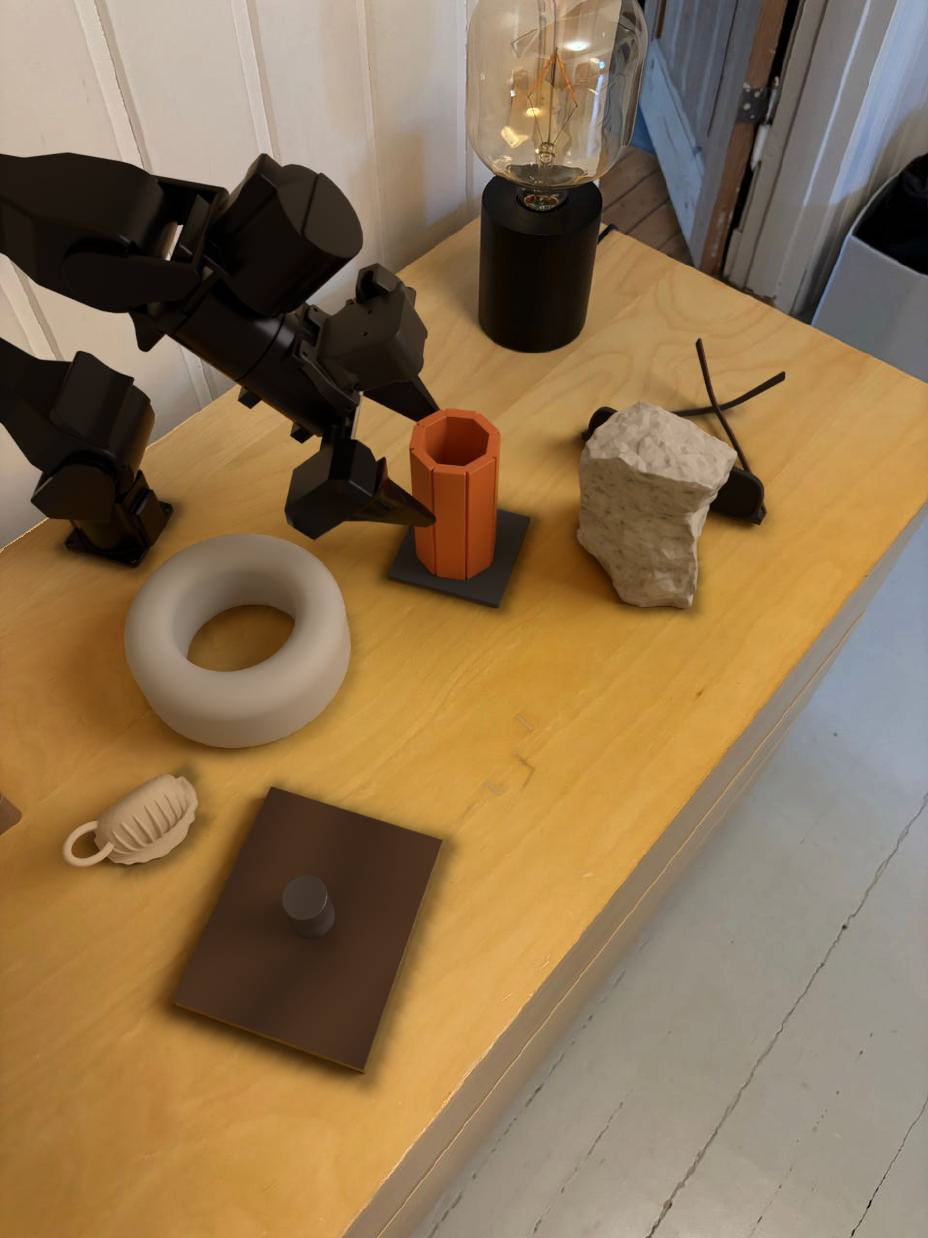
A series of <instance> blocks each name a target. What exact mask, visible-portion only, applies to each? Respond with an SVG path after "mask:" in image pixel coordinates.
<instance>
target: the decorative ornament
mask: <svg viewBox="0 0 928 1238" xmlns="http://www.w3.org/2000/svg"><path fill="white" fill-rule="evenodd" d="M197 796H198V795H197V792H196V789H195V787H194V786H193V784H192V783H191V782H190V781H189V780H188V779H187V778H185V776H183V775H181V776H179V777H176V778H175V777H174V776H173V775H172V774H170V773H165V774H160V775H158V776H155V777H152V778H151V779H149V780H148V781H146V782H144V783H143V784H140V785H139V786H138V787H137V788H135V789H133V790H132V791H129V792H128V793H127V794H125V796H123V797H122V798H120V799H119V800H118V801H116V802H115V803H114V804H112V805H111V806H110V807H109V808H108V809H107V810H106V811H105V812H103V813H102V814H100V816H99V817H98V818H97V819H96V820H93V821H88V822H85V823H83V824H82V825H80V826H78V827H76V828H75V829H74V830H72V831H71V833H69V834H68V836H67V837H66V838H65V840H64V842H63V844H62V848H61V854H62V857H63V859H64V861H65V862H66V863H67V864H69V865H70V866H72V867H75V868H86V867H91V866H93V865H96V864H98V863H99V862H101V861H103V860H104V859H105V858H108V859H110V861H111V862H113V863H115V864H123V865H127V866H129V865H133V864H135V863H143V864H144V863H147V862H149V861H151V860H154V859H158V858H162V857H164V856H166V855H168V854H169V853H170V852H171V851H172V850H173V849H174V848H175V847H177V846H178V845H180V844H181V843H182V842H183V841H184V840H185V838H186V837H187V835H188V831H189V827H190V825H191V824H192V823H193V822H194V821H195V819H196V816H195V812H196V810H197V808H198V806H199V800H198V797H197ZM89 832H94V834H95V837H94V839H93V842H94V843H95V845H96V846H97V848H98V850H99V851H98V852H97V853H95V854H93V855H91V856H88V857H84V858H83V857H81V858H80V857H76V856H75V855H73V852H72V848H73V844H75V842H76V841H77V839H79V837H81V836H83V835H84V834H87V833H89Z"/></svg>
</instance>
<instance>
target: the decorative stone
mask: <svg viewBox="0 0 928 1238" xmlns="http://www.w3.org/2000/svg"><path fill="white" fill-rule="evenodd" d="M617 411H618V412H616V413H614V414H613V415H612V416H611V417H610V418H609V419H608V420H607V421H606V422H605V423H604V424H602V425H601V426H600V427H598V428H596V429H595V431H594V433H593V435H592V436H591V438H590V439H589V440H588V441H587V442H585V445H584V448H583V449H582V451H581V452H580V453H581V454H580V459H579V465H578V469H577V472H578V473H577V474H578V483H579V484H578V485H579V492H580V493H579V499H580V504H579V505H580V506H579V515H578V522H579V528H578V529H577V530H576V532H575V533H576V538H577V540H578V542H579V544H580V545H581V546H582V547H583V548H584V549H585V550H586V551H587V553H589V554H590V555H592V556H593V557H594V558H595V560H597V561H598V562H599V564H600V565H601V567H602V568H603V569H604V571H605V572H606V574H607V575H608V576H609V577H610V578H611V584H612V586H613V588H614V589H615V591H616V592H617V594H618V596H619V598H620V599H621V601H623V602H625V604H629V605H633V606H636V607H638V608H653V607H660V606H663V607H665V606H666V607H668V606H671V607H675V608H679V609H683V610H686V609H688V608H689V609H690V607H692V605H693V601H694V594H695V593H696V591H697V590H698V589H697V588H698V587H697V582H698V571H699V563H698V545H697V544H698V539H699V538H700V536H701V535H702V530H703V528H704V525H705V524H706V520H707V514H708V513H709V511H710V510H709V504H710V503H711V502H712V501H713V500H714V499H715V498H716V496H717V492H718V490H719V489H720V488H721V487H722V486H723V485H724V484H725V483H726V481H727V479H728V477H729V472H730V471H731V469H732V466H734V463H735V462H736V460H737V458H738V455H737V452H736V451H735V449H734V448H732V447H731V446H730V445H729V444H728V443H727V442H726V441H723V440H720V439H718V438H717V437H715V436H714V435H711V434H709V433H707V432H706V431H704V430H702V429H701V428H699V427H698V426H697V425H696V424H695V423H694V422H693V421H691V420H689V419H686V418H684V417H679V416H677V415H675V414H673V413H671V411H669V410H666V409H664V408H663V407H662V406H661V405H656V404H654V403H650V402H647V401H642V400H639V401H638V402H636V403H635V404H633V405H631V406H628V407H627V408H624V409H622V410H617Z"/></svg>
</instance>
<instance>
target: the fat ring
mask: <svg viewBox="0 0 928 1238" xmlns="http://www.w3.org/2000/svg"><path fill="white" fill-rule="evenodd" d="M247 605H248V606H249V605H260V606H267V607H272V608H275V609H278V610H280V611H282V612H284V613H286V614H287V615H289V616H290V617H291V618H292V619H293V620H294V626H293V629H292V632H291V633H290V635H289V637H288V639H287V640H286V642H285V643H284V644H283V645H282V647H280V648H279V649H278V651H276V652H275V653H274V654H272V656H270V657H268V658H267V659H265V660H263V661H261V662H259V663H257V664H255V665H253V666H250V667H247V668H243V669H238V670H231V671H220V670H219V671H218V670H211V669H207V668H203V667H201V666H198V665H196V664H194V663H193V662H191V661H189V659H188V655H189V650H190V646H191V643H192V641H193V639H194V638H195V636H196V635H197V633H198V632H199V630H200V629H201V628H202V627H203V626H204V625H205V624H207V622H209V621H210V620H212V618H213V619H214V617H216V616H217V615H219V614H222V613H223V612H226V611H228V610H230V609H233V608H237V607H242V606H247ZM123 633H124V634H123V645H124V646H123V647H124V653H125V658H126V661H127V662H126V663H127V665H128V668H129V670H130V672H131V675H132V677H133V678H134V680H135V682H136V683H137V685H138V687H139V688H140V691H141V692H142V694H143V695H144V697H145V699H146V700H147V702H148V703H149V705H150V707H151V709H152V710H153V711H154V713H155V714H156V715H157V716H158V717H159V719H161V721H162V722H163V723H165V724H166V725H167V726H168V727H169V728H170V729H171V730H173V731H174V732H176V733H177V734H179V735H180V736H184V737H185V738H187V739H189V740H192V741H194V742H196V743H199V744H202V745H206V746H211V747H215V748H223V749H224V748H226V749H243V748H251V747H252V748H253V747H258V746H262V745H266V744H271V743H273V742H277V741H279V740H282V739H284V738H286V737H289V736H290V735H292V734H295V733H296V732H297V731H299V730H301V729H302V728H304V727H305V726H307V725H309V724H310V723H311V722H312V721H314V720H315V719H316V718H317V717H318V716H319V715H321V714H322V712H323V711H325V709H326V708H327V707H328V706H329V704H330V703H331V702H332V701H333V699H334V698H335V697H336V695H337V693H338V692H339V690H340V689H341V686H342V684H343V682H344V680H345V677H346V674H347V671H348V670H349V669H348V668H349V664H350V659H351V650H352V649H351V648H352V647H351V645H352V643H351V633H350V627H349V622H348V617H347V611H346V606H345V601H344V598H343V594H342V591H341V589H340V587H339V585H338V583H337V581H336V579H335V577H334V576H333V574H332V573H331V571H330V570H329V569H328V568H327V567H326V565H325V564H324V563H323V562H322V561H321V560H320V559H319V558H317V557H316V556H315V555H314V554H313V553H311V552H310V551H308V550H307V549H305V548H304V547H302V546H300V545H298V544H296V543H294V542H292V541H289V540H287V539H284V538H281V537H277V536H274V535H269V534H261V533H252V532H251V533H250V532H249V533H248V532H247V533H246V532H243V533H230V534H222V535H218V536H215V537H214V536H213V537H210V538H207V539H204V540H201V541H198V542H196V543H193V544H192V545H189V546H187V547H185V548H183V549H181V550H179V551H177V552H175V554H173V555H171V556H170V557H169V558H167V559H166V560H164V561H163V562H162V563H161V564H160V565H158V566H157V567H156V568H155V569H154V570H153V571H152V572H151V573H150V575H149V576H148V577H147V578H146V579H145V580H144V582H143V583H142V584H141V586H140V587H139V589H138V590H137V592H136V594H135V596H134V598H133V600H132V602H131V603H130V606H129V609H128V612H127V614H126V619H125V624H124V631H123Z"/></svg>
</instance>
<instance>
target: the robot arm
mask: <svg viewBox="0 0 928 1238" xmlns="http://www.w3.org/2000/svg"><path fill="white" fill-rule="evenodd" d="M179 226H181V229H180V232H179V235H178V237H177V240H176V243H175V245H174V248H173V250H172V253H171V255H170V258H169V259H168V256H169V253H170V251H171V249H172V245H173V243H174V241H175V237H176V234H177V230H178V227H179ZM363 246H364V232H363V228H362V224H361V221H360V218H359V216H358V214H357V212H356V210H355V208H354V207H353V205H352V203H351V202H350V200H349V198H348V197H347V196H346V194H345V193H344V192H343V190H342V189H340V187H339V186H338V185H337V184H336V183H335V182H334V181H333V179H331V178H330V177H328V176H327V175H326V174H325V173H324V172H319V173H318V172H316V171H314V170H313V169H311V168H309V167H307V166H304V165H302V164H297V163H296V164H295V163H289V164H285V165H283V166H282V165H280V164H279V162H277V161H276V160H275V159H274V158H273V157H272V156H270V155H269V154H268V153H265V152H262V153H261V152H260V154H259V155H258V156H257V158H256V159H254V161H252V163H251V164H250V166H249V167H248V168H247V171H246V173H245V175H244V177H243V179H242V180H241V181H240V182H239V183H238V185H237V186H236V187H235V188H234V189H233V190H232V191H231V192H230V191H229V190H228V189H227V188H226V187H223V186H220V185H219V186H218V185H213V184H208V183H201V182H196V181H191V180H190V181H189V180H186V179H181V178H175V177H168V176H163V175H157V174H152V173H150V172H148V171H147V170H145V169H143V168H141V167H139V166H137V165H134V164H133V163H130V162H126V161H122V160H116V159H111V158H105V157H99V156H93V155H88V154H87V155H86V154H82V153H76V152H69V151H67V152H65V151H63V152H57V153H49V154H41V155H33V156H18V155H12V154H7V153H1V152H0V255H3V256H5V257H7V258H8V259H9V260H10V261H11V262H12V263H13V264H14V265H16V267H17V268H18V269H20V270H21V271H22V272H23V273H24V274H25V275H26V276H27V277H28V278H29V279H31V281H32V282H34V283H35V284H36V285H38V286H39V287H41V288H44V289H46V290H49V291H51V292H54V293H56V294H58V295H61V296H63V297H65V298H68V299H70V300H72V301H75V302H77V303H80V304H82V305H84V306H87V307H89V308H91V309H95V310H97V311H100V312H104V313H111V314H117V315H118V314H128V315H129V317H130V319H131V321H132V323H133V327H134V333H135V340H136V345H137V348H138V349H139V351H141V352H143V353H148V352H150V351H151V350H152V349H153V348H154V347H155V346H156V345H157V344H158V343H159V342H160V341H161V340H162V339H163V338H164V337H165V336H167V337H168V338H169V339H171V340H172V341H174V342H175V343H177V344H178V345H180V346H182V347H183V348H184V349H185V350H187V351H189V353H191V354H193V355H194V356H196V357H197V358H198V359H200V360H202V361H203V362H204V363H206V364H208V365H209V366H210V367H212V368H213V369H215V370H217V372H219V373H221V374H222V375H224V376H225V377H226V378H228V379H230V380H231V381H233V382H234V383H236V384H237V385H238V386H240V390H239V393H238V398H237V402H239V403H240V404H241V405H243V406H244V407H246V408H248V409H249V410H252V409H253V408H254V407H255V406H257V405H258V404H260V403H261V401H262V402H263V403H264V404H266V405H267V406H269V407H270V408H272V409H273V410H275V411H276V412H278V413H279V414H281V415H282V416H283V417H285V418H286V419H288V420H289V421H291V422H292V425H291V429H290V434H289V437H290V438H292V439H294V441H296V442H297V443H299V444H301V445H303V444H304V443H306V442H307V441H308V440H310V439H311V438H312V437H314V436H316V438H321V440H320V445H319V448H318V449H319V450H318V451H317V452H315V453H314V454H312V455H311V456H310V457H308V458H307V459H305V460H304V461H303V462H302V463H300V464H299V465H298V466H296V467H295V468H294V469H292V473H291V478H290V482H289V487H288V491H287V496H286V500H285V505H284V509H283V512H284V516H285V519H286V520H285V521H286V524H288V525H289V526H290V527H291V528H293V529H294V530H296V531H297V532H299V533H300V534H301V535H304V536H306V537H307V538H309V539H311V540H312V541H316V540H319V538H321V537H323V536H324V535H325V534H327V533H329V532H330V531H332V530H333V529H335V528H336V527H338V526H340V525H341V524H343V523H345V522H346V523H348V522H349V523H350V522H351V523H352V522H353V523H355V522H361V523H362V522H363V523H365V522H366V523H377V524H379V523H380V524H388V525H397V526H407V527H409V526H415V527H424V528H427V527H429V526H431V525H433V524H434V523H436V516H435V515H434V514H433V513H432V512H431V511H430V510H429V509H428V508H427V507H425V506H424V505H423V504H422V503H421V502H419V501H418V500H417V499H415V498H414V497H413V496H412V494H410V493H409V492H408V491H406V490H405V489H404V488H403V487H401V486H400V485H399V484H397V483H396V482H395V481H393V480H392V479H391V478H390V477H389V471H388V463H387V458H386V456H382V457H381V458H379V459H378V460H377V459H376V458H375V456H374V453H373V452H372V449H371V448H370V447H369V446H367V445H365V443H364V442H361V441H360V440H359V439H356V434H357V428H358V424H359V418H360V412H361V407H362V402H363V397H365V398H367V399H369V400H371V401H373V402H375V403H377V404H379V405H381V406H382V407H385V408H386V409H389V410H391V411H393V412H394V413H397V414H399V415H401V416H403V417H405V418H407V419H409V420H411V421H413V422H415V423H417V422H418V421H420V420H422V419H424V418H426V417H427V416H429V415H431V414H433V413H435V412H437V411H439V410H440V409H441V408H440V407H439V405H438V403H437V402H436V401H435V398H434V397H433V396H432V395H431V392H430V391H429V390H428V388H427V387H426V385H425V383H424V382H423V380H422V378H421V377H420V375H419V374H420V373H421V372H422V370H423V368H424V364H425V359H424V358H425V357H424V352H425V346H426V345H425V344H426V340H427V339H428V336H429V332H428V329H427V327H426V326H425V324H424V322H423V320H422V318H421V317H420V315H419V314H418V312H417V310H416V308H415V306H416V299H417V291H416V289H415V288H414V287H412V286H406V284H405V282H404V281H403V280H402V279H401V277H399V276H398V275H396V274H394V273H393V272H392V271H390V270H389V269H387V268H386V267H384V266H383V265H382V264H380V263H378V262H375V263H373V264H370V265H366V266H365V267H361V268H360V269H358V272H357V279H356V281H355V288H354V293H355V297H353V298H348V299H346V300H345V303H344V306H342V307H341V309H339V310H338V311H337V312H336V313H334V314H330V313H328V312H327V311H326V312H325V311H324V310H323V309H322V308H320V307H319V306H317V305H316V304H313V303H312V304H309V303H307V301H308V300H309V299H310V298H312V297H313V295H315V294H316V293H317V292H318V291H319V290H320V289H321V288H322V287H323V286H325V285H326V284H327V283H328V282H329V281H330V280H331V279H332V278H334V277H335V276H336V275H337V274H338V273H339V272H340V271H342V269H344V268H345V267H346V266H347V265H348V264H349V263H351V261H353V259H354V258H355V257H357V256H358V255H359V254H360V252H361V251H362V249H363ZM135 380H136V379H135V377H134V376H132V375H128V374H125V373H121V372H119V371H118V370H115V369H113V368H111V367H110V366H109V365H107V364H105V363H104V362H103V361H102V360H100V359H99V358H98V357H97V356H95V355H94V354H93V353H90V352H88V351H84V350H77V351H76V352H75V353H74V356H73V359H72V361H71V360H60V359H46V358H45V359H43V358H39V357H37V356H34V355H32V354H30V352H29V353H28V352H27V351H25V350H23V348H20V347H19V346H17V345H15V344H13V343H12V342H10V341H8V340H7V339H5V338H3V337H1V336H0V424H1V425H2V426H3V428H4V429H5V431H6V432H7V433H8V434H9V436H10V437H11V439H12V440H13V442H14V443H15V445H17V446H16V447H18V448H19V450H20V451H21V453H22V455H24V458H26V460H27V461H28V462H29V464H30V465H32V466H33V467H34V468H35V469H37V470H39V471H40V472H41V474H40V476H39V478H38V481H37V484H36V486H35V488H34V490H33V492H32V495H31V497H30V500H29V501H30V503H31V504H32V505H33V506H34V507H35V508H36V509H37V510H38V511H40V512H41V513H42V514H43V515H44V516H45V517H46V518H47V519H49V520H60V521H61V520H62V521H69V523H70V525H71V526H72V528H73V529H72V530H71V531H70V533H69V534H68V536H67V537H66V539H65V540H64V542H63V546H64V547H65V549H66V550H67V551H70V552H73V553H77V554H80V555H84V556H87V557H91V558H94V559H98V560H102V561H105V562H108V563H112V564H116V565H120V566H123V567H126V568H131V569H135V568H136V569H137V568H138V567H140V565H141V564H142V563H143V561H144V559H145V558H146V556H147V555H148V553H149V552H150V550H151V549H152V548H153V546H155V544H156V542H157V541H158V540H159V538H160V537H161V535H162V533H163V532H164V530H165V529H166V526H167V525H168V522H169V520H170V518H171V516H172V515H173V513H174V512H175V508H174V507H173V506H174V505H172V503H170V502H166V501H163V500H158V497H157V495H156V492H155V490H154V489H153V488H150V486H149V484H148V480H147V479H146V476H145V473H144V471H143V470H141V469H140V466H141V464H142V460H143V458H144V455H145V452H146V448H147V446H148V443H149V441H150V437H151V434H152V431H153V429H154V426H155V423H156V414H155V411H154V409H153V406H152V404H151V403H152V400H151V398H150V397H149V395H147V393H145V391H143V390H142V389H140V388H139V387H138V386H137V385H135V384H134V382H135Z"/></svg>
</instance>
